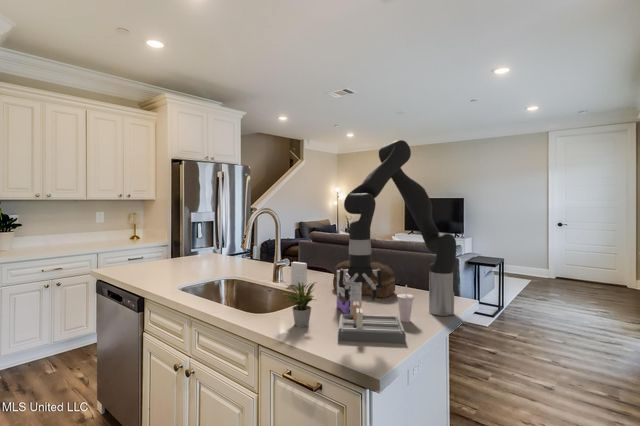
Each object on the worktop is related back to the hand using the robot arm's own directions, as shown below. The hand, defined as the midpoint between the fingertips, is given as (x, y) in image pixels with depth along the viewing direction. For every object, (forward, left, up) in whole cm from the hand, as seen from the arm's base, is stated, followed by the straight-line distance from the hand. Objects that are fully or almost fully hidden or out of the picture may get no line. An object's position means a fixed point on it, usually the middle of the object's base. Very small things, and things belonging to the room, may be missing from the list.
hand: (360, 299), depth 119 cm
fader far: (+1, -8, -9) cm, 12 cm away
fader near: (0, 0, -9) cm, 9 cm away
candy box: (+4, -27, -13) cm, 30 cm away
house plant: (+21, -11, -13) cm, 27 cm away
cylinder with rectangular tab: (+32, -71, -13) cm, 79 cm away
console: (-4, -4, -13) cm, 14 cm away
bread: (-3, -61, -13) cm, 62 cm away
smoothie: (-18, -18, -13) cm, 28 cm away
